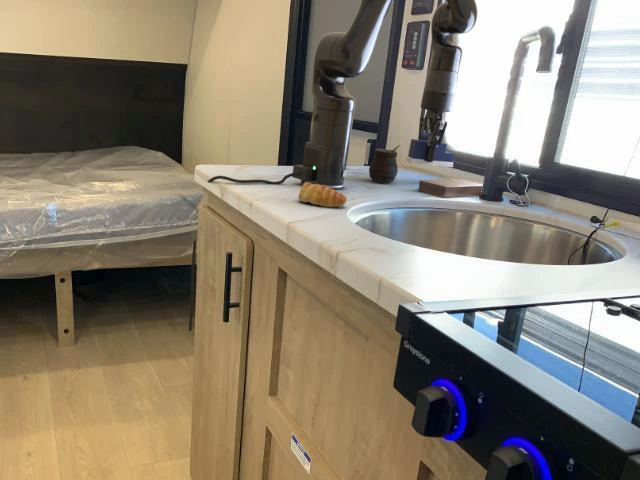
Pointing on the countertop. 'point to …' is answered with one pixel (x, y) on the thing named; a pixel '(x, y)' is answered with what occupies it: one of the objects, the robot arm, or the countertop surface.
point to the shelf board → (451, 187)
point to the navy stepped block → (418, 154)
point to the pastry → (321, 195)
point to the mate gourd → (384, 166)
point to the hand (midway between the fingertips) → (425, 159)
